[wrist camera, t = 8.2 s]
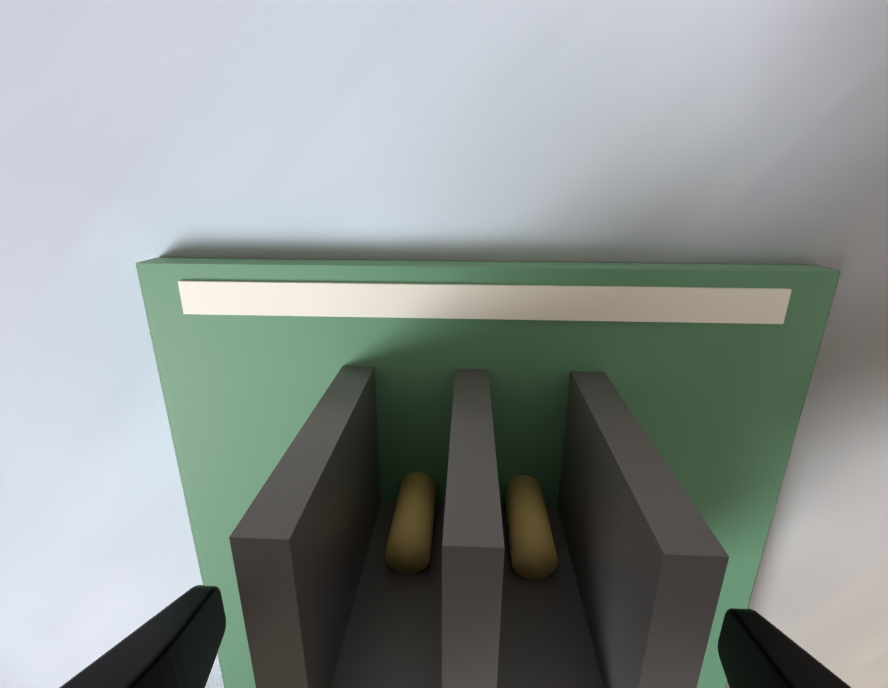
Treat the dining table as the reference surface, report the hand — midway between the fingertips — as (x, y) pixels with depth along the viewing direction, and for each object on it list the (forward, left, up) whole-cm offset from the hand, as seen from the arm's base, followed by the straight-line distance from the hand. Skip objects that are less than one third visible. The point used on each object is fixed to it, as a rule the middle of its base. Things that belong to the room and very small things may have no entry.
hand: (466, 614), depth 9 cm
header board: (0, +5, -5) cm, 7 cm away
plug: (0, 0, -4) cm, 5 cm away
